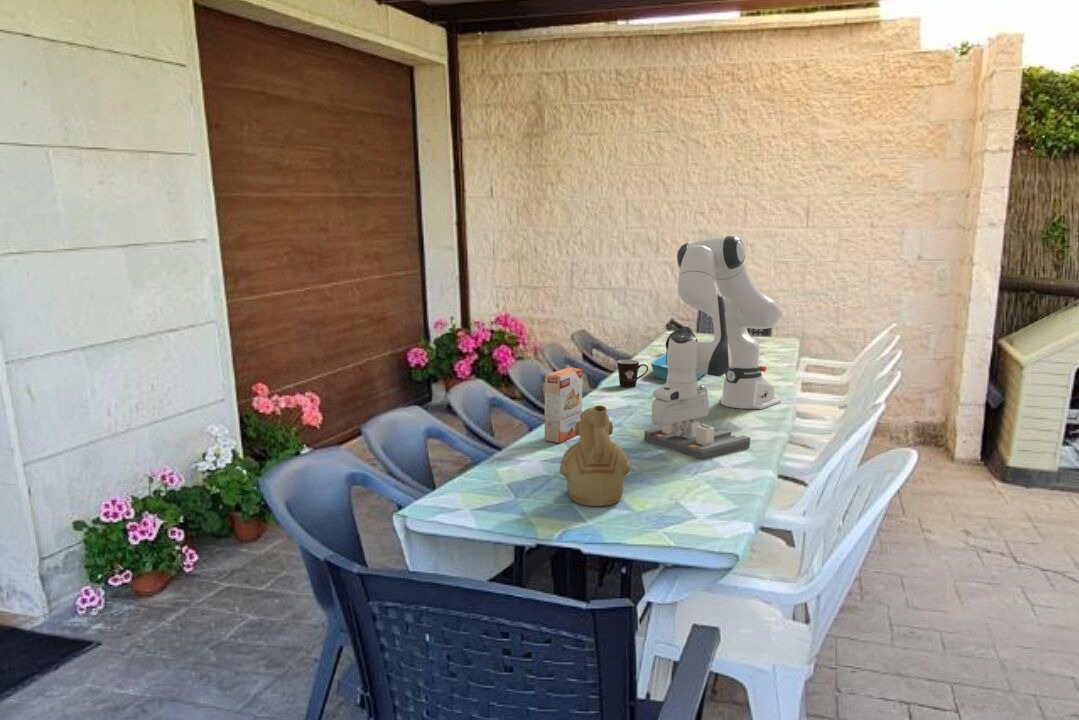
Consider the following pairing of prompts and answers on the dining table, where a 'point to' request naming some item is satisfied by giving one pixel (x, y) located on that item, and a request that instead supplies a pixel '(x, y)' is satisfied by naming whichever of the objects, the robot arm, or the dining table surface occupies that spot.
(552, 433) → the cracker box
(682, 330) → the squash
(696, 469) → the dining table surface
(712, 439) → the tab
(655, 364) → the casserole dish
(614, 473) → the ceramic vessel
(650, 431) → the switch board
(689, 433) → the white rectangular block
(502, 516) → the dining table surface
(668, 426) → the tab
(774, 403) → the robot arm
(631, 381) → the coffee mug
